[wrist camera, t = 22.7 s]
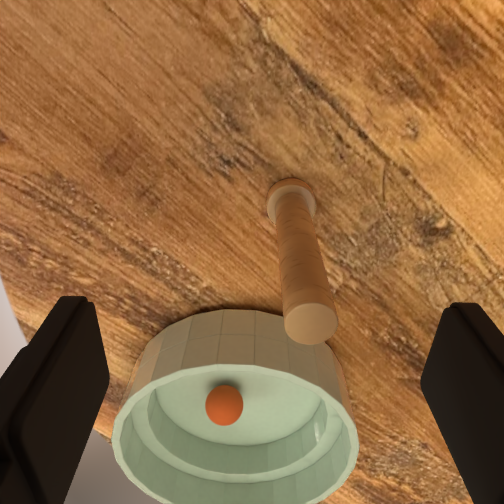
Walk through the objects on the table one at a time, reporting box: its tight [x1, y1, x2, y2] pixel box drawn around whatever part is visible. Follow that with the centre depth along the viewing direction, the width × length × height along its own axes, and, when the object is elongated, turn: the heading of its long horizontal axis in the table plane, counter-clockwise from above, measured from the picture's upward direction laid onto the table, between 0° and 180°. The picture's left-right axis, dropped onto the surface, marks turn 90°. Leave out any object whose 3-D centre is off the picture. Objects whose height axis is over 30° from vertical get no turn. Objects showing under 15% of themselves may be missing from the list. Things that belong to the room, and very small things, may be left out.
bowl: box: [111, 309, 360, 504], centre depth 31 cm, size 17×17×6 cm
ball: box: [205, 385, 243, 426], centre depth 31 cm, size 3×3×3 cm
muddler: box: [266, 178, 338, 345], centre depth 20 cm, size 3×3×12 cm
